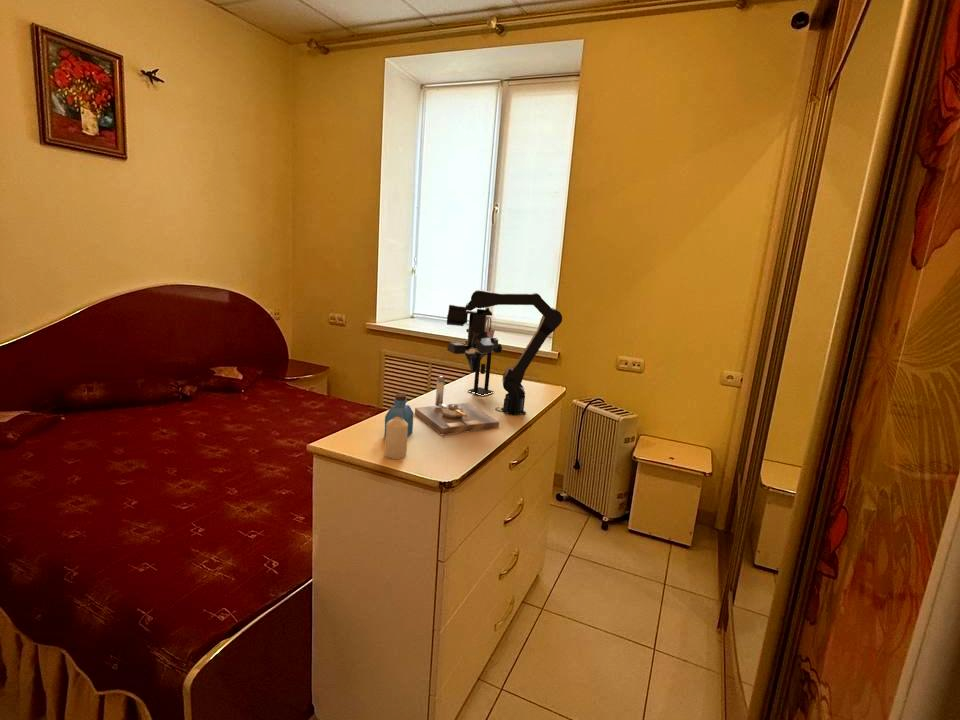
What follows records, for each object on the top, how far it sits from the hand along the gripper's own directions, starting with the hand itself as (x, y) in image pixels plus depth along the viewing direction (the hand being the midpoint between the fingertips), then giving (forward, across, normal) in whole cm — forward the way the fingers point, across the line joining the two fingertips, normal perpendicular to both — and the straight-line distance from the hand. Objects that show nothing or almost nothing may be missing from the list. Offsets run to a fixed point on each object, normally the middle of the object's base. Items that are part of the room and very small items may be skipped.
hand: (473, 372), depth 170 cm
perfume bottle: (+13, -33, -16) cm, 39 cm away
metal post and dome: (+11, -13, -10) cm, 19 cm away
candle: (+13, -39, -29) cm, 50 cm away
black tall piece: (+13, +14, +16) cm, 25 cm away
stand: (+13, -11, -10) cm, 20 cm away
